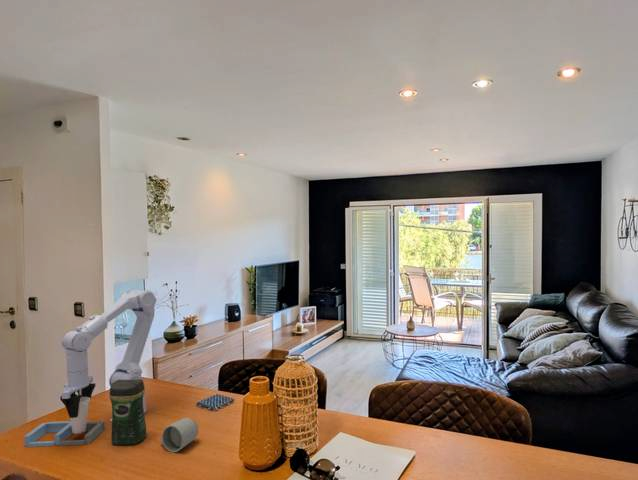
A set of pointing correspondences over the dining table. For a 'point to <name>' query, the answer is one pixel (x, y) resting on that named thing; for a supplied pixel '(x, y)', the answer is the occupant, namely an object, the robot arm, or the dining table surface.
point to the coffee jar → (127, 412)
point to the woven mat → (215, 402)
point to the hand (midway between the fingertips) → (79, 412)
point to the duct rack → (62, 434)
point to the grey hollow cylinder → (179, 434)
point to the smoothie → (81, 416)
